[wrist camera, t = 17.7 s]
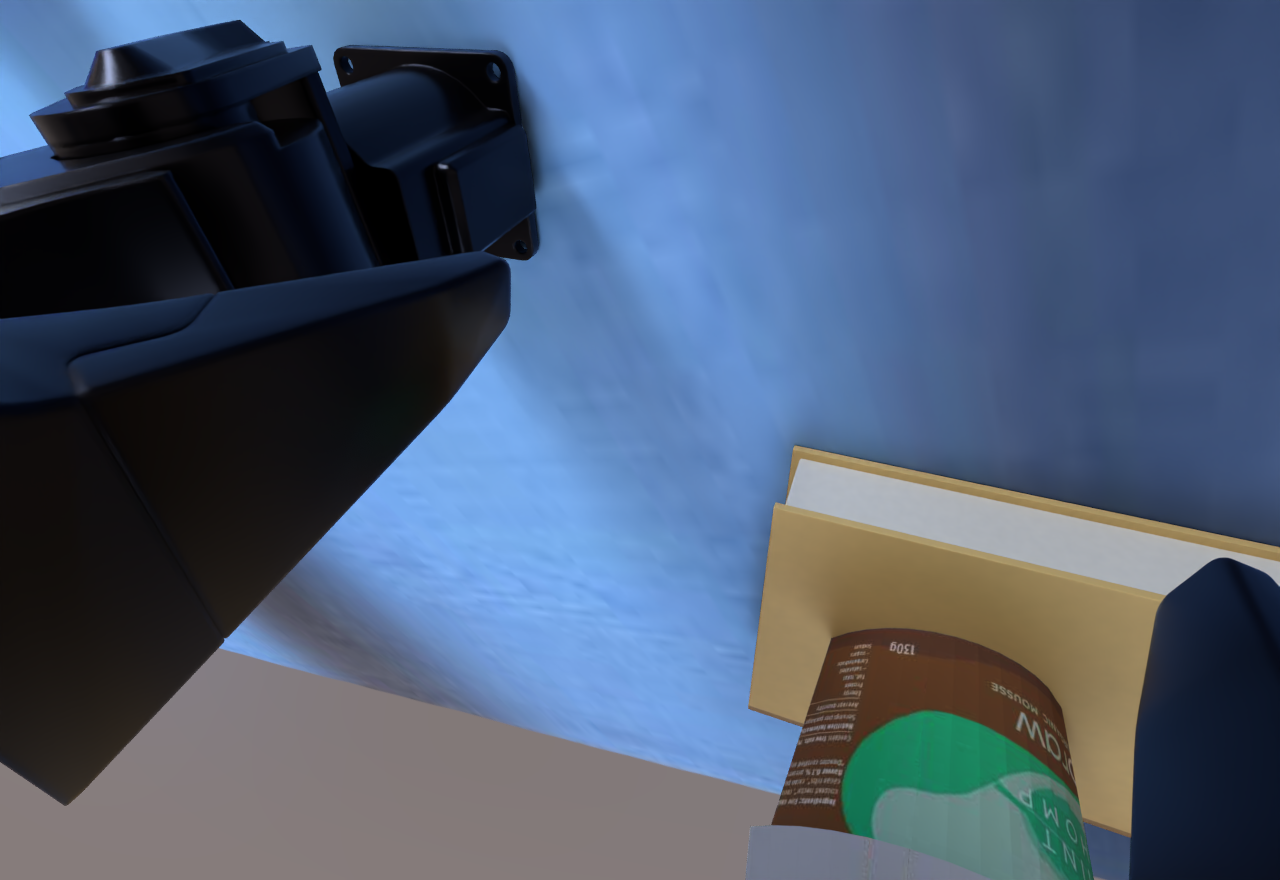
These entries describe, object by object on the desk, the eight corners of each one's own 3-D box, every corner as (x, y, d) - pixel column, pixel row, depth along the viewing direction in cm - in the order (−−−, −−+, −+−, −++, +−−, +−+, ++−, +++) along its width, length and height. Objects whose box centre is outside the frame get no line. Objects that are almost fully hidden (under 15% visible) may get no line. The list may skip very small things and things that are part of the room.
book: (765, 647, 34) (747, 709, 31) (794, 444, 25) (773, 507, 23) (1159, 767, 29) (1176, 853, 26) (1363, 564, 20) (1416, 663, 18)
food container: (1192, 770, 23) (1283, 1172, 16) (1027, 793, 27) (1040, 1118, 20) (935, 554, 21) (909, 896, 14) (802, 615, 26) (731, 901, 19)
